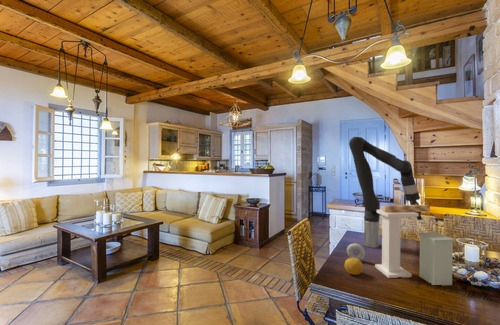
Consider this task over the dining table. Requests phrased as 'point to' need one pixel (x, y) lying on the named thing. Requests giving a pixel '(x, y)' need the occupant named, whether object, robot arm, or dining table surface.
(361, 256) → the donut
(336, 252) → the dining table surface
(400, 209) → the wooden bar
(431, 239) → the green post
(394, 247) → the tall stand
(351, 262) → the fruit
